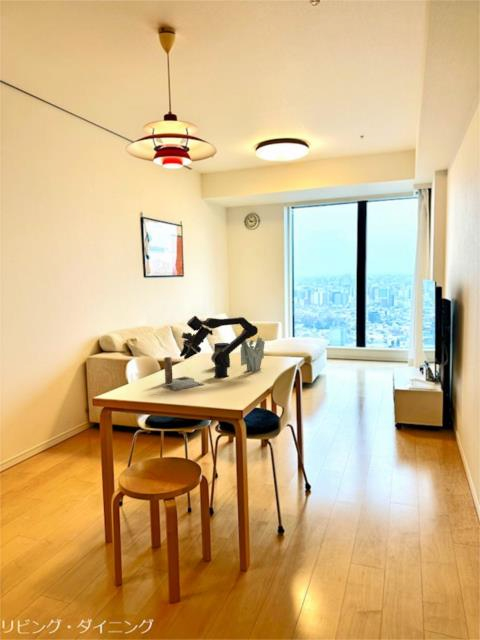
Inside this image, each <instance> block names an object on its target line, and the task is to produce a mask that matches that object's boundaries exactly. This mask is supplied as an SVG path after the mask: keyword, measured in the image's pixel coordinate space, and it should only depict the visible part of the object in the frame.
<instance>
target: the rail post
mask: <svg viewBox="0 0 480 640" xmlns="http://www.w3.org/2000/svg"><path fill="white" fill-rule="evenodd" d="M172 359H173V358H172V357H171V356H166V357H164V358H163V360H164V361H163V363H164V379H165V380H164V381H165V384H167V385H170V384H172V379H174V378H173V361H172Z"/></svg>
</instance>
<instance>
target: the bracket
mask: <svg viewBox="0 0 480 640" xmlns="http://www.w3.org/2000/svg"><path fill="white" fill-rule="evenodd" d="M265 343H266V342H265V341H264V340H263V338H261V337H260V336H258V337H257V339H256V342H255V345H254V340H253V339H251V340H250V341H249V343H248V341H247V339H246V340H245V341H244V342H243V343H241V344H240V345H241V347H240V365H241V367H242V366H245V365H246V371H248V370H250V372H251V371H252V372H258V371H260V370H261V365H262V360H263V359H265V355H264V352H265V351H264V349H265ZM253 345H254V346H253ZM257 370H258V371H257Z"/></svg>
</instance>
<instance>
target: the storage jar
mask: <svg viewBox="0 0 480 640" xmlns="http://www.w3.org/2000/svg"><path fill="white" fill-rule="evenodd" d="M213 344H214V349H213V350H214V352H216V350H217V349H219V350H222V349H224V348H225V347H226V346H227V345H229V344H230V343H229V342H217V343H213ZM214 352H213V353H214ZM225 361H226V362H227V363H228V366H227V367H229V368H230V367H231V358H230V354H229V355H228V356H227V358H226V360H225ZM214 365H215V364H214ZM215 366H216V365H215ZM215 366H214V367H215Z"/></svg>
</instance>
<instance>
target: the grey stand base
mask: <svg viewBox="0 0 480 640" xmlns="http://www.w3.org/2000/svg"><path fill="white" fill-rule="evenodd" d="M204 385H205V383H203V382H198V381H195V378H193V377H189V376H186V375H184V376H180V377H176V378H175V377H174V378H173V379H172V383H170V384H167V385H162V388H164V389H168V390H171V391H174V392H176V391H177V392H178V391H182V390H187V389H191V388H196V387H200V386H204Z"/></svg>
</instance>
